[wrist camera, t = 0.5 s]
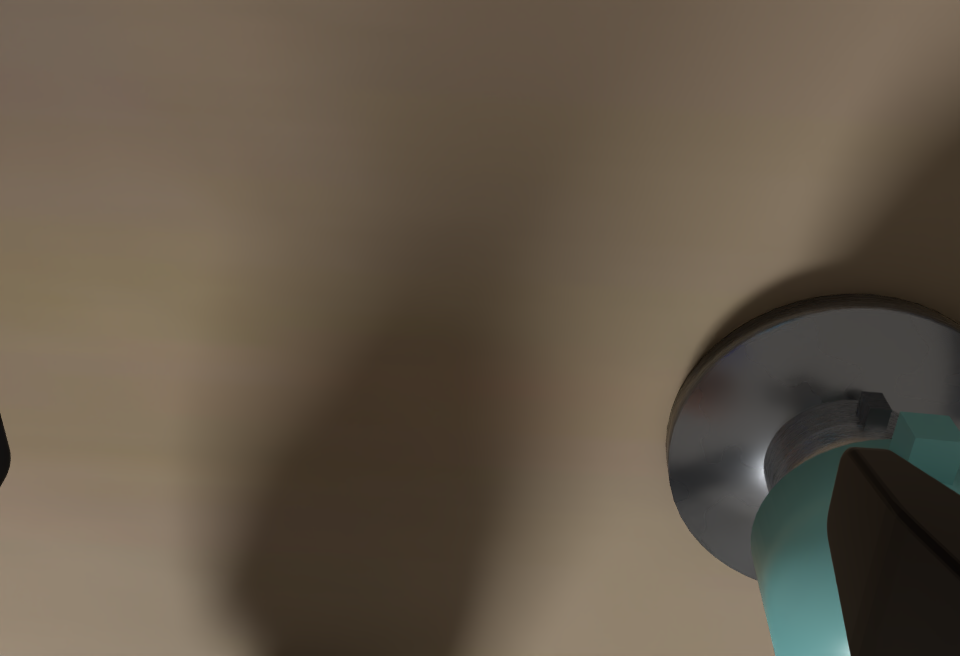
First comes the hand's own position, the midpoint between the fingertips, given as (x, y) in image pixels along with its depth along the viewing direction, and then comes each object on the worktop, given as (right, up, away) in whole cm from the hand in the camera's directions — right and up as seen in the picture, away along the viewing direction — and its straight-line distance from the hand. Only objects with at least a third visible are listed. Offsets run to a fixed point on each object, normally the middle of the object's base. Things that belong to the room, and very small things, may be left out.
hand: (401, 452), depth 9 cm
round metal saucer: (+10, -2, +15) cm, 18 cm away
